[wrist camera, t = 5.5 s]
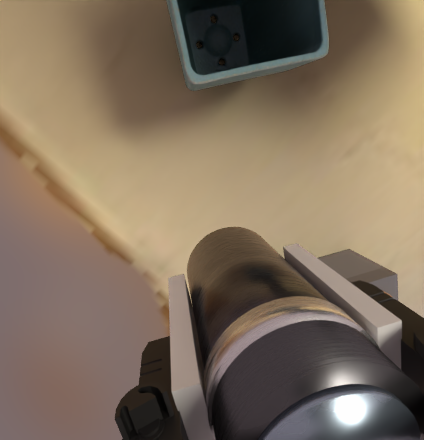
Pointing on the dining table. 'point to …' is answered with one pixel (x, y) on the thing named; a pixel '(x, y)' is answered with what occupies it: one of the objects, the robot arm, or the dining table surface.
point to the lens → (288, 353)
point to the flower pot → (246, 38)
